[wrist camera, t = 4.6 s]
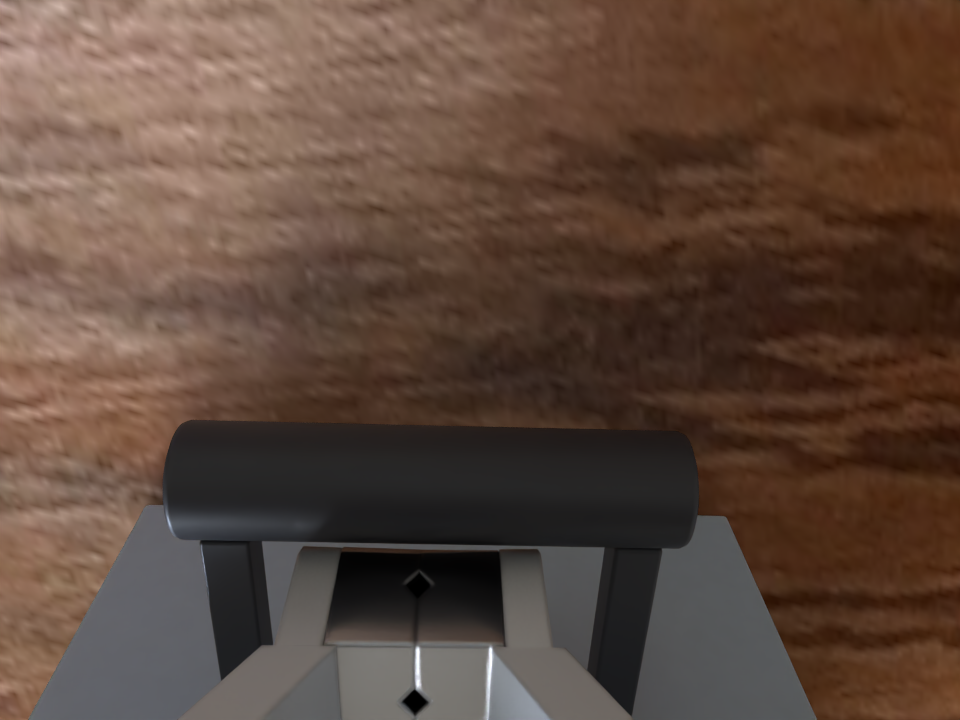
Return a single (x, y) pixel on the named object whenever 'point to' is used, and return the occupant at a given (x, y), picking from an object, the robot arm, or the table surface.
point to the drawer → (432, 526)
